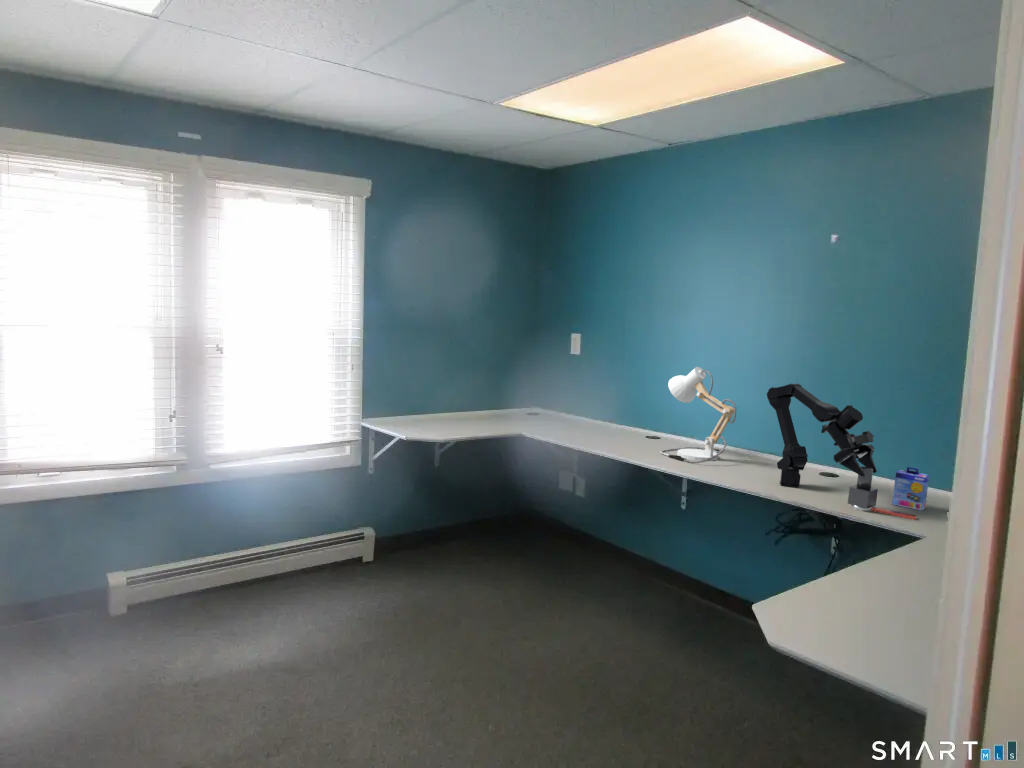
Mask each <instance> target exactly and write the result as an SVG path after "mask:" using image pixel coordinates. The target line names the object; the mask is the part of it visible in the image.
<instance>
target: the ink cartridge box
mask: <svg viewBox="0 0 1024 768" xmlns="http://www.w3.org/2000/svg"><path fill="white" fill-rule="evenodd" d="M929 481H930V475H929V474H926V473H920V472H919V468H918V467H912V466H907V467H906V470H903V469H898V470H896V471H895V477H894V486H893V494H892V495H893V496H892V500H891V501H892V502H891V505H892V504H893V505H894V506H897V505H898V507H903V508H907V509H913V510H916V511H924V510H925V508H926V504H927V497H928V489H929Z"/></svg>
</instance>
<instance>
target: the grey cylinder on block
mask: <svg viewBox="0 0 1024 768" xmlns="http://www.w3.org/2000/svg"><path fill="white" fill-rule="evenodd" d="M860 467H861V469H862V471H863V473H864V475H863V476H860V475H859V474H857V482H856V484H855V485H850V486H849V490H848V496H847V504H848V505H855V506H859V507H863V508H866V509H867V508H871V507H876V506H877V500H878V491H879V490H878V489H879V488H876V487H872V481H873V475H874V474H873V469H872V468H869V467H865V466H860Z"/></svg>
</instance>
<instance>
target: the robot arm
mask: <svg viewBox="0 0 1024 768" xmlns="http://www.w3.org/2000/svg"><path fill="white" fill-rule="evenodd" d="M766 398H767V399H768V403H769V405H770V406H771V407H772V408H773V410H775V412H776V413H775V414H776V416H777V420H778V425H779V428H780V432H781V437H782V441H783V444H784V446H783V450H782V452H781V453H782V458H781V459H780V460H779V461H778V462H777V463H776V466H777V469H778V470H780V478H779V481H778V482H779V485H780V486H782V487H789V488H790V487H791V488H799V486H800V485H801V474H800V471H804V469H805V466H806V465H807V463H808V461H809V460H808V459H809V458H808V457H809V455H808V453H807V448H806V446H803V445H800V443H799V441H798V438H797V434H796V430H795V426H794V423H793V419H792V415H791V411H790V406H791V402H792V398H795V399H796V400H797V401H799V402H800V403H801V404H802V405H804V406H805V407H807V408H808V409H809V410H810V411H811V414H812V415H813V417H814V418H815V419H816V420H817V421H818V422H820V423H827V424H824V425H822V426H821V431H820V433H821V434H825V433H828V434H829V436H830V437H831V438H832V440H833V442H834V443H833V446H835V447H838V448H839V451H838V452H836V453H834V455H833V460H834V462H835V463H836V464H839V465H841V466H843V467H845V468H847V469H849V470H850V471H852V472H854V473H855V474H857V475H858V474H859V475H860V476H863V475H864V473H863V471H862V469H861V467H862V466H860V464H861V465H863V467H869V468H872V469H873V473H874V474H876V473H877V472H878V470H877V468H876V465H875V462H874V458H873V454H874V452H875V450H876V449H875V448H874V446H873V445H872V444H870V443H874V441H875V440H874V437H875V436H874V434H873V433H872V432H870V430H866V431H863V432H861V433H862V434H859V435H855V433H850V432H849V430H851V429H853V428H854V427H855V426H857V425H858V424H859V423H860V422H861V421H863V418H864V416H863V414H862V412H860V411H859V410H858V409H857V408H855V407H853V405H850V404H849V405H846V406H845V407H844V408H843V409H842V410H840V409H839V408H838V407H837V406H835V405H833V404H830V403H827V402H824V401H822V400H820V398H818V397H816V396H815V395H814V394H812V393H811V392H809V391H808V390H807V389H805V388H804V387H803V386H802V385H801V384H799V383H789V384H786V385H782V386H778V387H777V386H776V387H775V386H774V387H773V386H772V387H770V388H769V389H768V390H767V392H766ZM859 463H860V464H859Z"/></svg>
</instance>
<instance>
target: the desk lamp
mask: <svg viewBox="0 0 1024 768" xmlns="http://www.w3.org/2000/svg"><path fill="white" fill-rule="evenodd" d="M706 373H707V374H708V375H709V377H710V387H709V391H707V388H706V387H705V385H704V383H703V380H704V379H705V378H706V377H707V375H706ZM667 384H668V385H667V387H668V389H669V391H670V394H671V395H672V396H673V397H674V398H675V399H676V400H678V401H679V402H681V403H685V404H688V403H692V401H693V400H694V399H695V397H696V396H697V397H698V398H699V399H701V400H702V401H703V402H705V403H706V404H708V405H709V406H710V407H713V408H714V409H715V410H717V411H718V412H720V413H721V414H722V415H721V417H720V418H719V420H718V422H717V424H716V425H715V427H714V428H713V431H712V433H711V434H710V435H709V436H706V437H705V440H704V447H700V446H685V447H675V448H667V449H662V450H660V451H659V452H660V454H662V455H664V456H666V457H668V458H671V459H673V460H677V461H680V462H686V463H691V464H701V463H705V462H709V461H710V462H711V461H712V462H713V461H717V460H718V459H719V455H721V454H722V453H723V452H724V451H725V449H726V448H727V442H726V439H725V438H724V436H723V435H722V434H723V432H724V431H725V429H726V427H727V425H728V424H729V423H730V424H734V423H735V421H736V417H737V405H736V403H735V402H734V401H733V400H731V399H729V398H725V399H723V400H722V401H720V400H719V399H717V398H716V397H714V396H713V395H711V394H712V390H713V387H714V378H713V376H712V373H711V372H710V371H708V370H706V369H703V368H702V367H699V366H695V368H693V369H692V370H691V371H690V372H689V373H688V374H687V375H684V374H683V375H680V374H679V375H675V376H673V377H671V378H670V379H669V380H668V382H667ZM728 401H729V402H731V404H732V405H733V406H731V405H727V404H726V403H725V402H728ZM732 417H733V419H732ZM731 419H732V420H731ZM719 439H721V440H722V441H723V444H724V445H723V448H722V449H721V450H719V448H714V446H715V445H716V444H717V443H718V441H719ZM670 451H676V455H675V454H668V453H665V452H670Z"/></svg>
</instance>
